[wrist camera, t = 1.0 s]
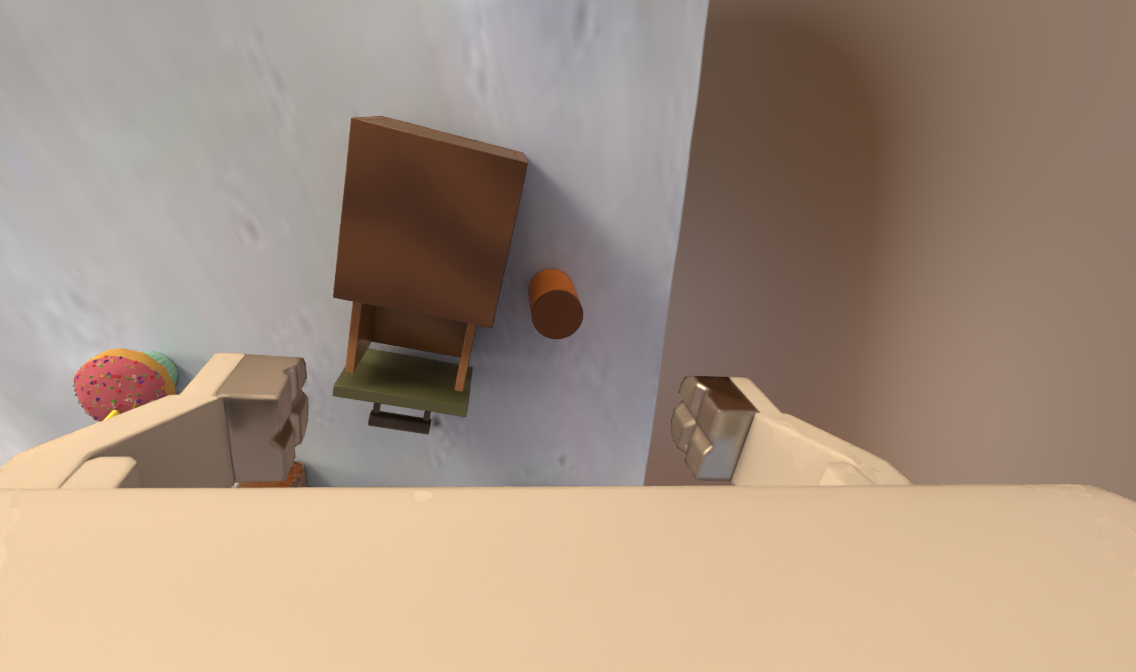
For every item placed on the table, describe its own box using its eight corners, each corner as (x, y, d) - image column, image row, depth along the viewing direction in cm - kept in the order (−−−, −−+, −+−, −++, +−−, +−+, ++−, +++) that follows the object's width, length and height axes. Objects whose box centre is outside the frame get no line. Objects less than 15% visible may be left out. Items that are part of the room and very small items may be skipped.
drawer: (464, 406, 63) (458, 450, 55) (352, 387, 60) (328, 431, 52) (494, 262, 56) (493, 288, 48) (370, 236, 54) (347, 258, 46)
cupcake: (209, 395, 60) (143, 460, 49) (133, 412, 60) (50, 481, 49) (172, 326, 56) (92, 379, 45) (91, 343, 56) (-9, 401, 45)
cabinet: (494, 291, 59) (492, 328, 49) (363, 264, 56) (332, 297, 46) (523, 152, 53) (528, 163, 44) (380, 115, 51) (350, 117, 41)
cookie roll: (534, 264, 58) (538, 286, 51) (578, 274, 59) (588, 297, 52) (524, 307, 60) (526, 334, 53) (567, 316, 61) (575, 343, 54)
